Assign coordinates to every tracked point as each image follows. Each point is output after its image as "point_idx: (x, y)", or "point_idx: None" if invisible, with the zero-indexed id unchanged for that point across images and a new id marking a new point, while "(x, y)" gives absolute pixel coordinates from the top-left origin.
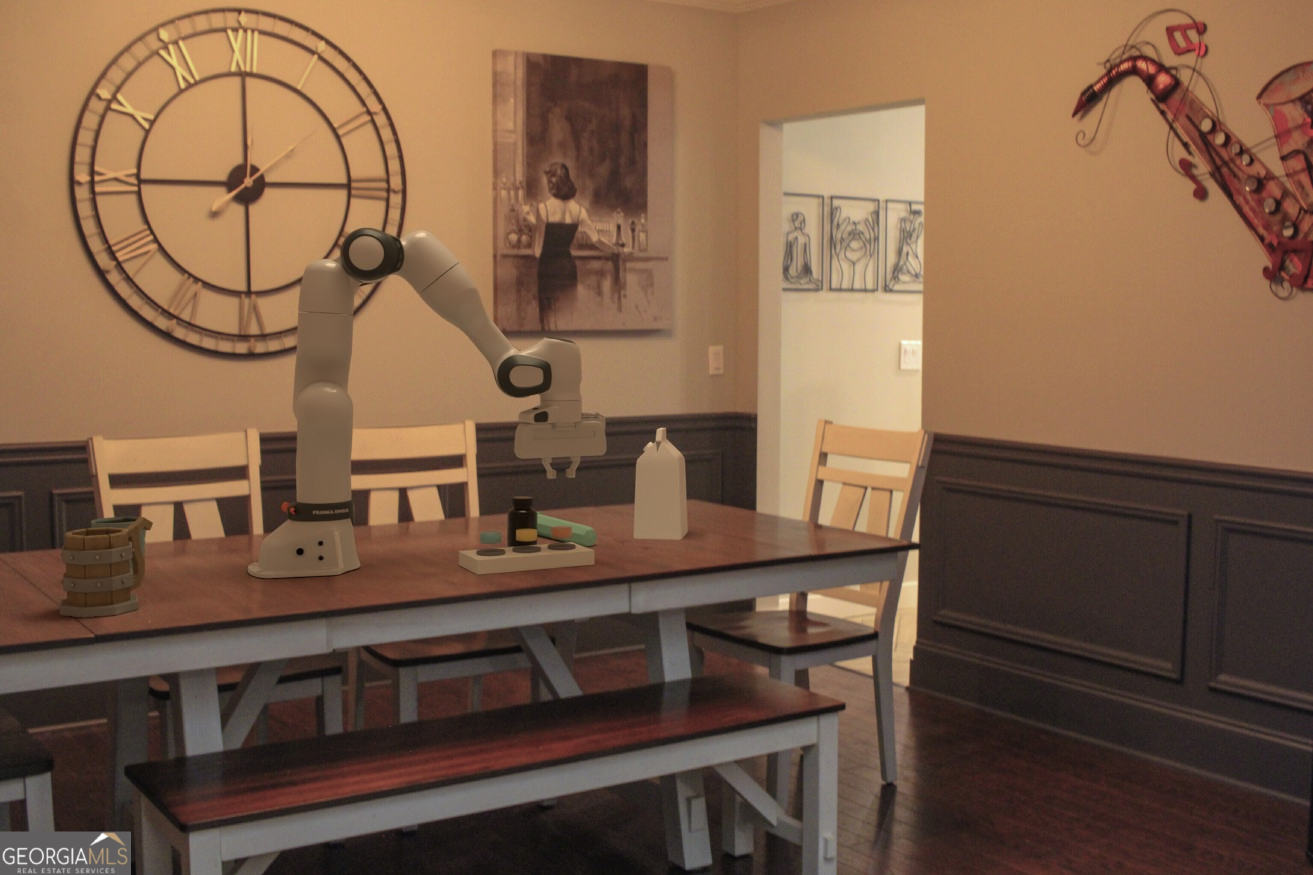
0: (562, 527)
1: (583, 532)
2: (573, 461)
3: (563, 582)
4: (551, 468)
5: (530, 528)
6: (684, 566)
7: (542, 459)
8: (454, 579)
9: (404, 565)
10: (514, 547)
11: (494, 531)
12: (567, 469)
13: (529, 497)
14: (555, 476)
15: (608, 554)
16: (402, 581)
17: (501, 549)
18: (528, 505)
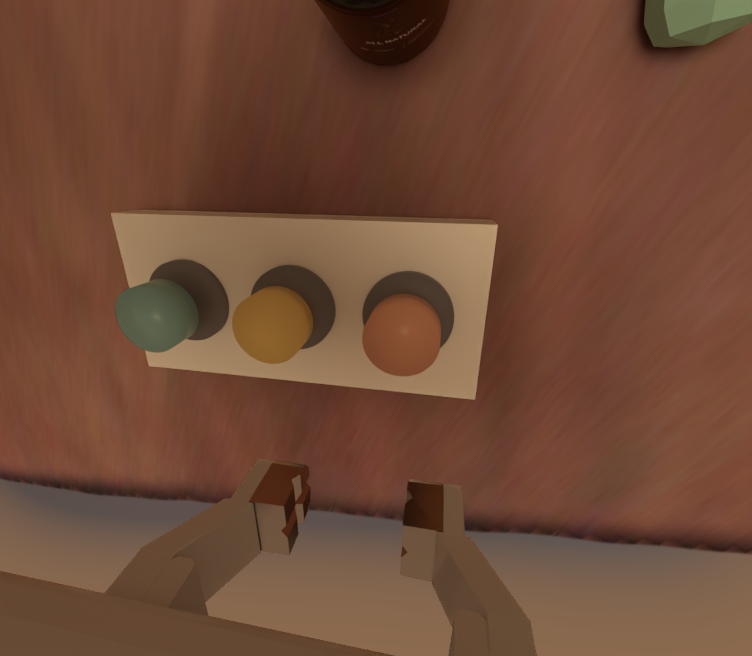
0: (406, 339)
1: (684, 20)
2: (479, 617)
3: (316, 497)
4: (241, 567)
5: (388, 35)
6: (661, 508)
7: (123, 589)
8: (124, 369)
9: (9, 140)
10: (260, 283)
11: (161, 302)
12: (402, 547)
13: None
14: (300, 513)
15: (615, 256)
16: (27, 336)
17: (217, 297)
18: None
